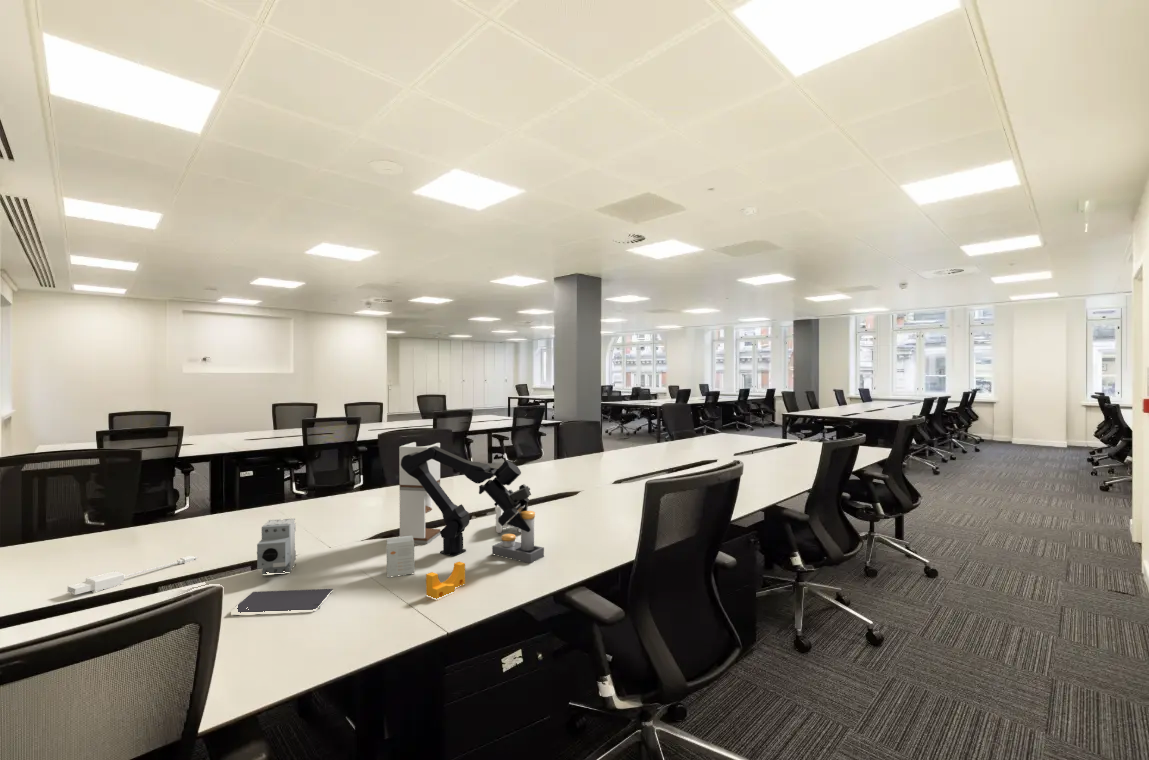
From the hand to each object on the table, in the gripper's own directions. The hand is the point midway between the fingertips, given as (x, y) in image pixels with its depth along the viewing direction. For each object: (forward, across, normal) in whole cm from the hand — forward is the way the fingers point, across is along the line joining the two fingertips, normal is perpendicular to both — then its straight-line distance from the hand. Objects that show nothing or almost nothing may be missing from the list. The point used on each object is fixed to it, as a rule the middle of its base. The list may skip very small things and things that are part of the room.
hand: (531, 529), depth 176 cm
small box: (-18, -20, +33) cm, 43 cm away
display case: (-25, +12, +40) cm, 48 cm away
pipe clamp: (-4, -30, +19) cm, 36 cm away
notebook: (-32, -46, +47) cm, 73 cm away
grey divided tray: (+3, +1, +10) cm, 11 cm away
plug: (+4, 0, +6) cm, 7 cm away
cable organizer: (-4, +29, +19) cm, 35 cm away
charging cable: (-72, -38, +87) cm, 119 cm away
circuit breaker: (-44, -28, +59) cm, 79 cm away
